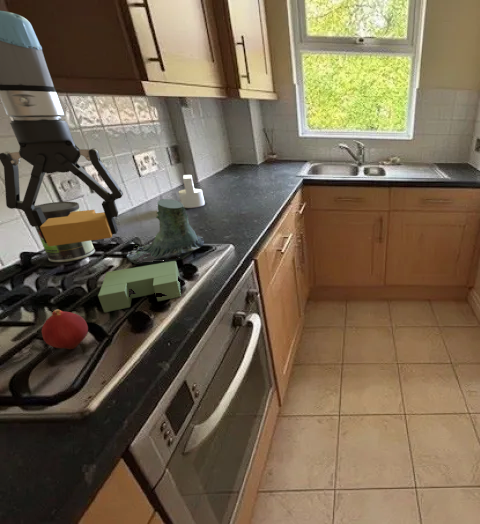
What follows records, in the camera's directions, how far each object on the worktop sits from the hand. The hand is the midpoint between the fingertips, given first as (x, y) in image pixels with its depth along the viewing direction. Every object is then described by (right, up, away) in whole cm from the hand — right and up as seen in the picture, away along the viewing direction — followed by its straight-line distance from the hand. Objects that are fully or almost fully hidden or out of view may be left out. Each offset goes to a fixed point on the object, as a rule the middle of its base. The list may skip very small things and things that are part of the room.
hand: (83, 236), depth 68 cm
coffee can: (-25, -3, +25) cm, 36 cm away
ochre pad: (-1, 0, +2) cm, 2 cm away
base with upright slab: (-17, +19, +74) cm, 78 cm away
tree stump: (+1, -3, +28) cm, 28 cm away
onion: (+7, -21, -10) cm, 24 cm away
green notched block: (+8, -12, +8) cm, 16 cm away
